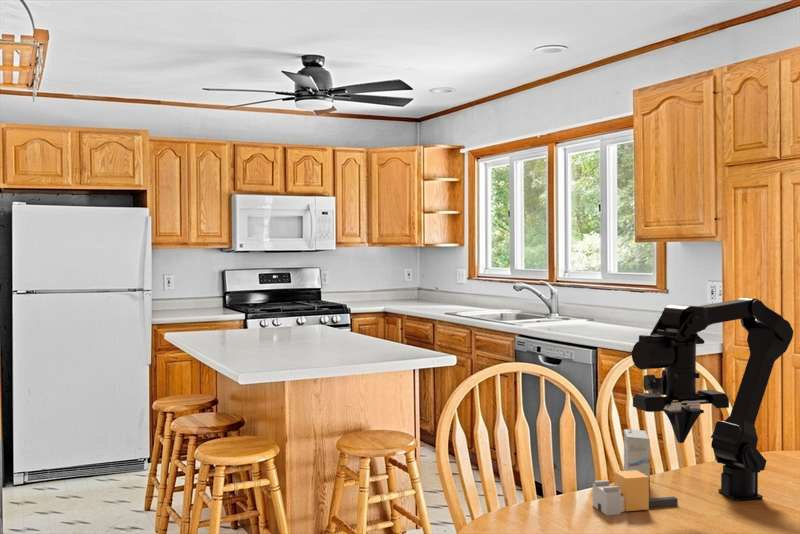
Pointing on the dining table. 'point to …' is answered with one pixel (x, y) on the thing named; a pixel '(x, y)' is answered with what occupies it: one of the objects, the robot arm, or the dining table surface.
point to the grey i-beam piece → (607, 497)
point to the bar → (659, 502)
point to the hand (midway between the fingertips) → (680, 442)
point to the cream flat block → (622, 503)
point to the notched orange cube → (633, 489)
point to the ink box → (637, 452)
